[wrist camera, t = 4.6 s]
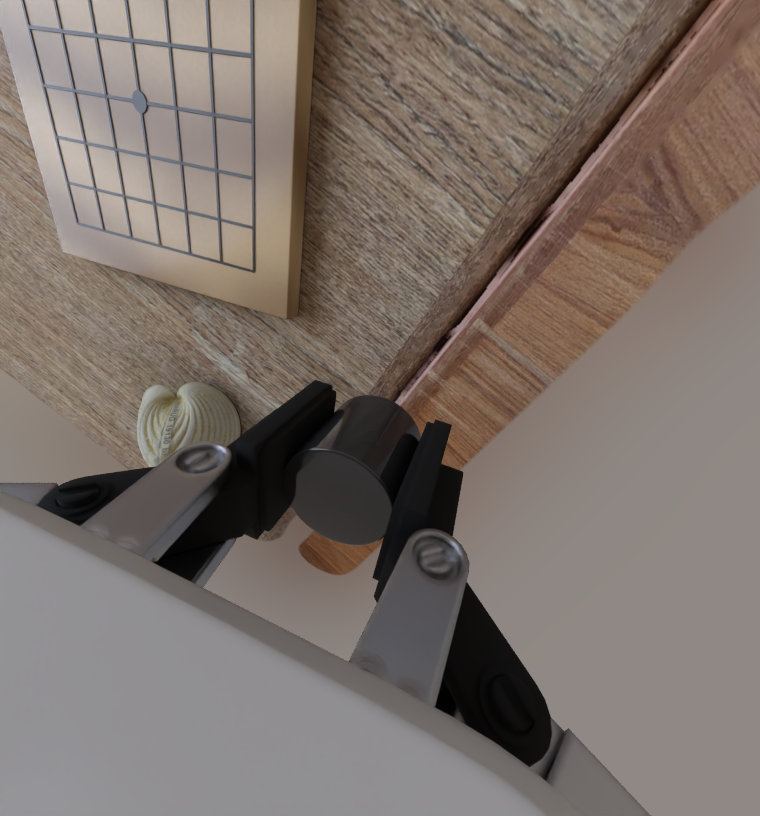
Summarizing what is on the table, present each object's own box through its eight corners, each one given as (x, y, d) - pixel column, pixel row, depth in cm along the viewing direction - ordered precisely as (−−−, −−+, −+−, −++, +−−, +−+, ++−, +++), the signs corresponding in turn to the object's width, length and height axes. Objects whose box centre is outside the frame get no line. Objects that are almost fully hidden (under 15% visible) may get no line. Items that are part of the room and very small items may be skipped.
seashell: (215, 375, 25) (215, 481, 24) (253, 392, 33) (253, 471, 32) (104, 379, 24) (100, 487, 24) (171, 394, 33) (169, 475, 32)
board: (-22, -170, 17) (-67, -206, 15) (328, -180, 13) (308, -228, 12) (83, 252, 27) (61, 252, 25) (298, 315, 23) (286, 320, 22)
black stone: (338, 382, 11) (282, 431, 8) (432, 412, 10) (407, 477, 7) (329, 457, 12) (279, 518, 10) (409, 487, 12) (381, 562, 9)
